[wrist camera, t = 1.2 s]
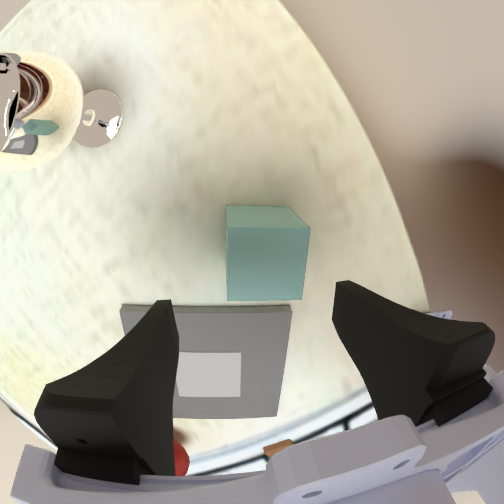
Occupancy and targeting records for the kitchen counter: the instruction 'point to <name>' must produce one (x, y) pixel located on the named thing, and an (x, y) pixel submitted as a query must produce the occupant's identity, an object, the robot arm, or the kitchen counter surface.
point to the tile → (226, 359)
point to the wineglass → (49, 110)
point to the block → (265, 253)
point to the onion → (180, 459)
